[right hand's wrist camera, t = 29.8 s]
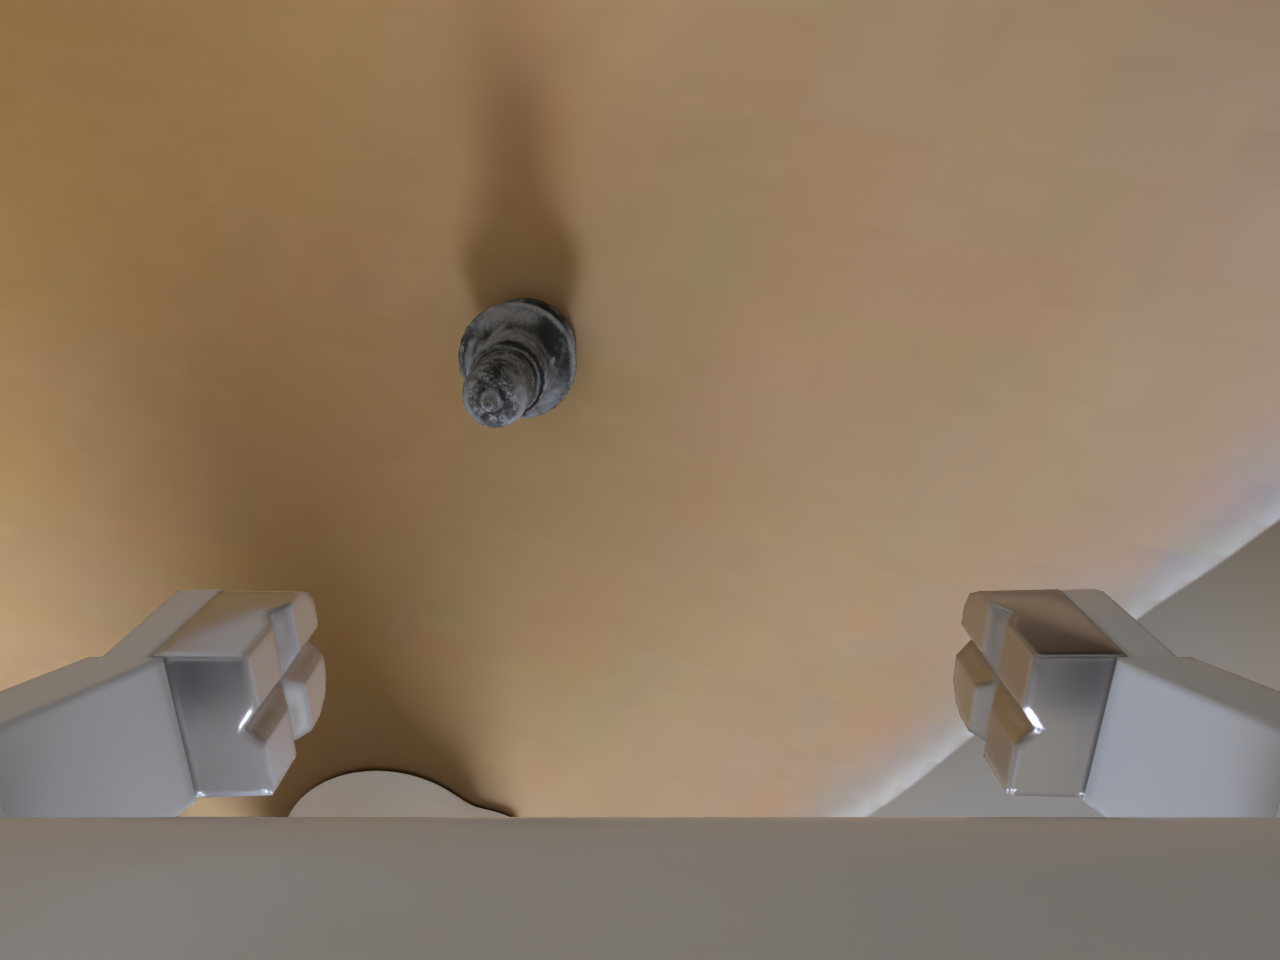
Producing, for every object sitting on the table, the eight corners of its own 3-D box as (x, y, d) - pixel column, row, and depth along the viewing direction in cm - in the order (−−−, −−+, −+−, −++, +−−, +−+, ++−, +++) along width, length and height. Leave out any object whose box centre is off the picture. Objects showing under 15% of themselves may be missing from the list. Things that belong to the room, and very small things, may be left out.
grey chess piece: (458, 378, 44) (397, 446, 33) (491, 275, 42) (437, 310, 31) (560, 415, 45) (534, 495, 34) (596, 316, 43) (581, 365, 32)
